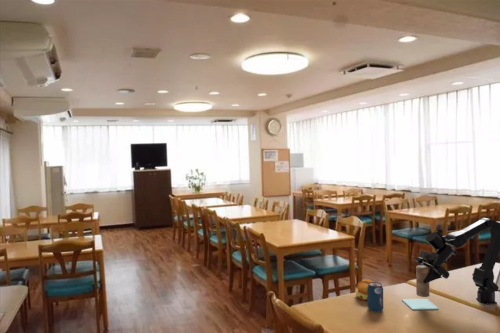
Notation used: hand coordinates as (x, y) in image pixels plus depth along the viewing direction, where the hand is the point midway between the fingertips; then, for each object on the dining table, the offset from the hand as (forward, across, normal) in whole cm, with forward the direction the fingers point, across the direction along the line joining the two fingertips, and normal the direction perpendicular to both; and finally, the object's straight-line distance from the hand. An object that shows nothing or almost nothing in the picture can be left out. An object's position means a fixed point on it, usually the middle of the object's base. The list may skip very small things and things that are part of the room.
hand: (420, 281), depth 182 cm
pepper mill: (+4, 0, +6) cm, 7 cm away
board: (+8, -3, +10) cm, 13 cm away
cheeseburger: (+22, -17, -4) cm, 28 cm away
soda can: (+24, -2, -6) cm, 25 cm away
